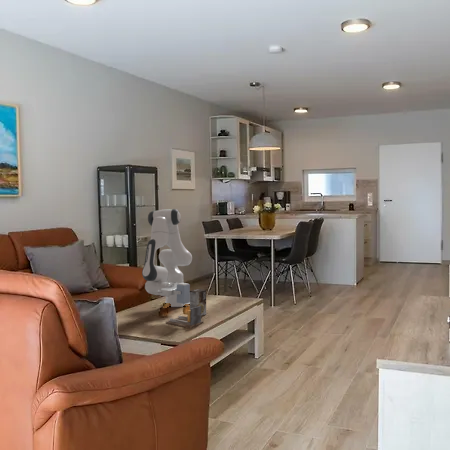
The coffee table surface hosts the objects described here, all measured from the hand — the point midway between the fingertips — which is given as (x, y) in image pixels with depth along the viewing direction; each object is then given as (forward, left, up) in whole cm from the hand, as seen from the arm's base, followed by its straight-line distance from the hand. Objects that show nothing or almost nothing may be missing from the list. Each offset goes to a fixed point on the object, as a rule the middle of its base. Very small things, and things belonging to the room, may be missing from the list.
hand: (184, 292), depth 309 cm
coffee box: (-21, -6, -19) cm, 29 cm away
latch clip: (0, +6, -18) cm, 19 cm away
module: (0, -1, -7) cm, 7 cm away
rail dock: (0, 0, -19) cm, 19 cm away
